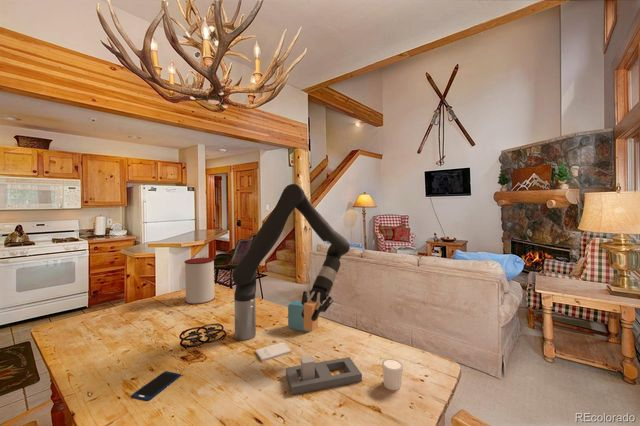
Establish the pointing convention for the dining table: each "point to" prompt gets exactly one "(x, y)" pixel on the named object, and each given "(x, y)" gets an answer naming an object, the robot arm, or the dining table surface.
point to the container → (199, 280)
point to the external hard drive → (273, 351)
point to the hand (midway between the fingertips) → (308, 318)
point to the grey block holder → (321, 374)
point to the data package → (296, 316)
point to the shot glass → (392, 373)
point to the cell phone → (155, 386)
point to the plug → (308, 312)
